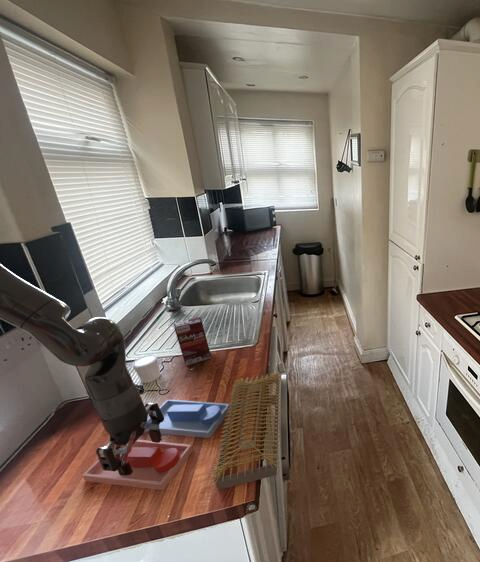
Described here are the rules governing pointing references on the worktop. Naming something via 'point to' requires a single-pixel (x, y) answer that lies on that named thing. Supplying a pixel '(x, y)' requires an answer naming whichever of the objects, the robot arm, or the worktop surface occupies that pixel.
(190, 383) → the worktop surface
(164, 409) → the blue tray
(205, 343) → the supplement box
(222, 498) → the worktop surface
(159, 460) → the red spoon
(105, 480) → the rose tray
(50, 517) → the worktop surface
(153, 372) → the white short cylinder
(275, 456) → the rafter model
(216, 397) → the worktop surface
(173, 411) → the blue spoon
